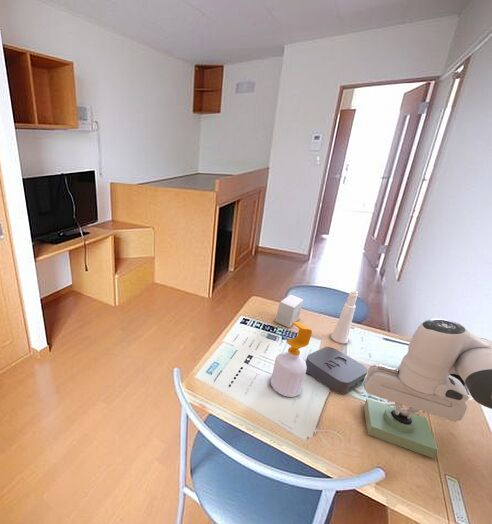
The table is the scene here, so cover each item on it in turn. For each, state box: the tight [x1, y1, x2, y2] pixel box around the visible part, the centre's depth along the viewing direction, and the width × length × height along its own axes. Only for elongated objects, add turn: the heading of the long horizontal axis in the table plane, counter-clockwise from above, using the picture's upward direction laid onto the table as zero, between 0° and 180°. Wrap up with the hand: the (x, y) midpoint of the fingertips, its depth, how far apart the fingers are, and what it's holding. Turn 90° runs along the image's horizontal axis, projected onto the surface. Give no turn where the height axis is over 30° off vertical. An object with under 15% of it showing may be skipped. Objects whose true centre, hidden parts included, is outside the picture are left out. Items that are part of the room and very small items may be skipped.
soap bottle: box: [270, 321, 313, 398], centre depth 95 cm, size 9×9×25 cm
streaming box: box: [305, 346, 368, 395], centre depth 104 cm, size 14×14×5 cm
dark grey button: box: [392, 410, 411, 424], centre depth 84 cm, size 4×4×2 cm
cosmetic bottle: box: [330, 289, 359, 344], centre depth 120 cm, size 6×6×22 cm
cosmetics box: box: [274, 294, 304, 329], centre depth 134 cm, size 10×6×10 cm, turn 132°
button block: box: [363, 398, 439, 459], centre depth 85 cm, size 14×11×5 cm
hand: (401, 415), depth 84 cm, fingers closed, pressing on dark grey button
